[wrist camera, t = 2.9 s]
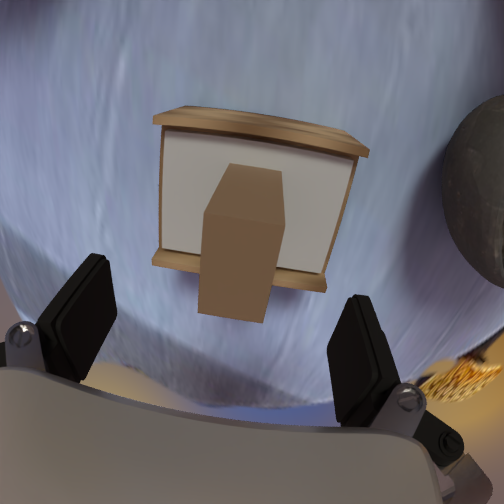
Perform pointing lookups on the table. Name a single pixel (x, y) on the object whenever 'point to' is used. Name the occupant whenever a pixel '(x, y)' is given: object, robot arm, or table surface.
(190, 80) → the table surface
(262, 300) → the lid
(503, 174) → the bowl
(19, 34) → the table surface
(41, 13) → the table surface
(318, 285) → the box
